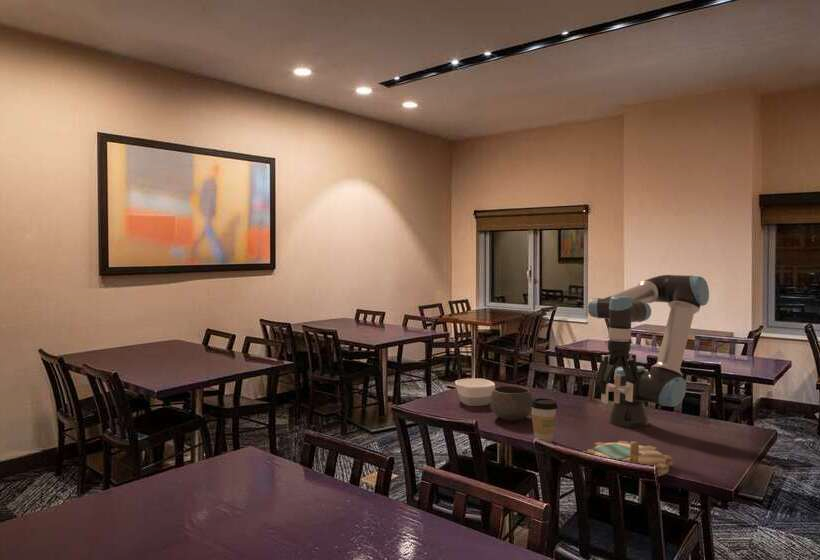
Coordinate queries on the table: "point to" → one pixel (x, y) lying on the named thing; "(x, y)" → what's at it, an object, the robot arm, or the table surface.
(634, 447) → the sprocket
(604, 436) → the table surface
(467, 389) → the bowl
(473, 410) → the table surface
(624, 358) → the robot arm
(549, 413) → the coffee cup
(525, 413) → the bowl
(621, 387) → the light wooden cross
